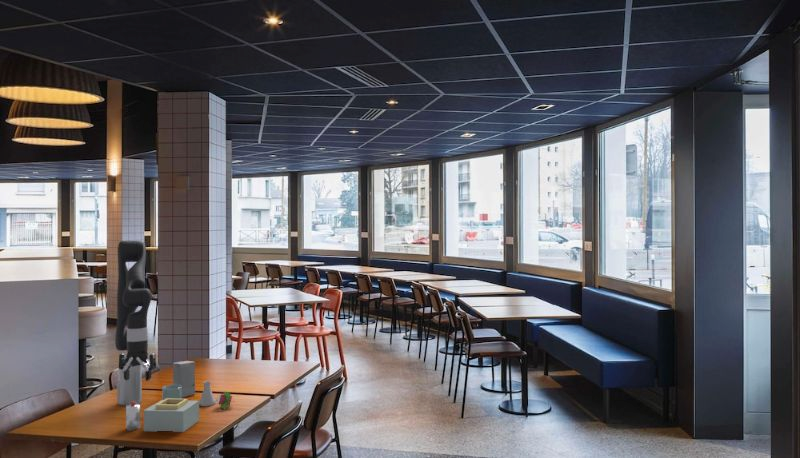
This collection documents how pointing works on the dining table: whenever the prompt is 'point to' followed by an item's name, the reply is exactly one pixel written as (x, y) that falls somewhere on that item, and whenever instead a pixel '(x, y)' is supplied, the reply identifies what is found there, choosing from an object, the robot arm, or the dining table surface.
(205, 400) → the flask
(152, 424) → the box with square opening
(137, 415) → the spout can
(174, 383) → the skincare box
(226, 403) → the geometric puzzle
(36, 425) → the dining table surface
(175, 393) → the cup
